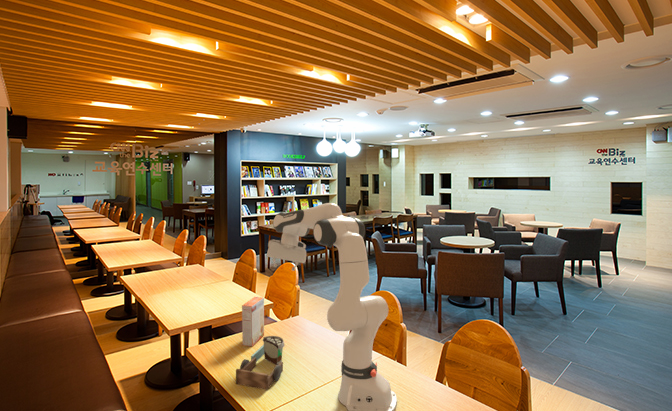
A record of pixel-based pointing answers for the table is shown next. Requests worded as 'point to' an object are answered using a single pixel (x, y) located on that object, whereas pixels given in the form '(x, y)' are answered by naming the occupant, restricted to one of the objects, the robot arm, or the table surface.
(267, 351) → the food container
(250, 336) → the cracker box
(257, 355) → the pale teal plank
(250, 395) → the table surface
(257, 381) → the cart bed
